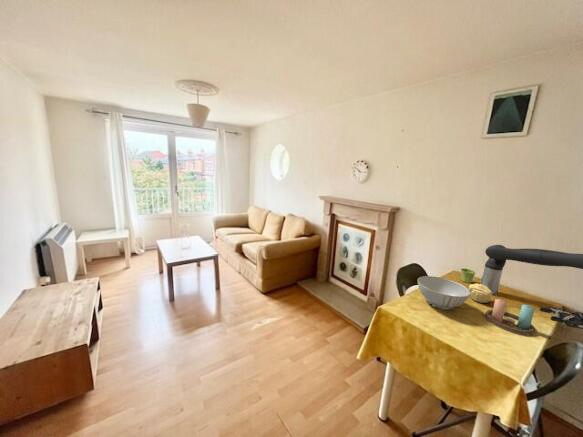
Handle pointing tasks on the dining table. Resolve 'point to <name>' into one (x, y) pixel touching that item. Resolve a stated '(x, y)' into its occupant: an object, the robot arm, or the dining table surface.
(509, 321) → the brown ring
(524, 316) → the teal cylinder
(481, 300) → the sculpture
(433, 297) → the decorative bowl
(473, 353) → the dining table surface
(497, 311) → the pink cylinder
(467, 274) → the plant pot
